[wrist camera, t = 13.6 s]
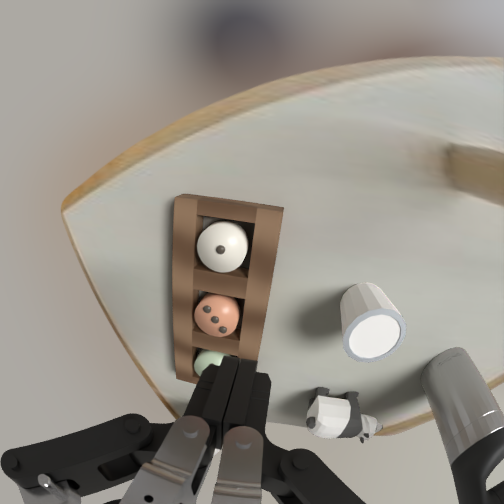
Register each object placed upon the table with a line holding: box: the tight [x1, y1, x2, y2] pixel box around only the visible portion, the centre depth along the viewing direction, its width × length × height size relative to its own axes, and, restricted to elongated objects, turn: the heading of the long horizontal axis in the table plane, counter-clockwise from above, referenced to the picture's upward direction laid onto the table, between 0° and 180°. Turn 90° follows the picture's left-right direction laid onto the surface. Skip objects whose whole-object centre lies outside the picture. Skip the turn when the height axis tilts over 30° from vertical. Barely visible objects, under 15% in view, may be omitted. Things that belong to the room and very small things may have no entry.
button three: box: [194, 292, 240, 337], centre depth 32 cm, size 5×5×2 cm
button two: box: [194, 349, 232, 376], centre depth 35 cm, size 5×5×2 cm
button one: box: [197, 220, 249, 272], centre depth 28 cm, size 5×5×2 cm
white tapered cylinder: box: [340, 282, 406, 363], centre depth 28 cm, size 7×7×7 cm
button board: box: [172, 194, 284, 384], centre depth 32 cm, size 26×11×2 cm, turn 173°
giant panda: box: [306, 387, 383, 443], centre depth 33 cm, size 12×5×8 cm, turn 76°
